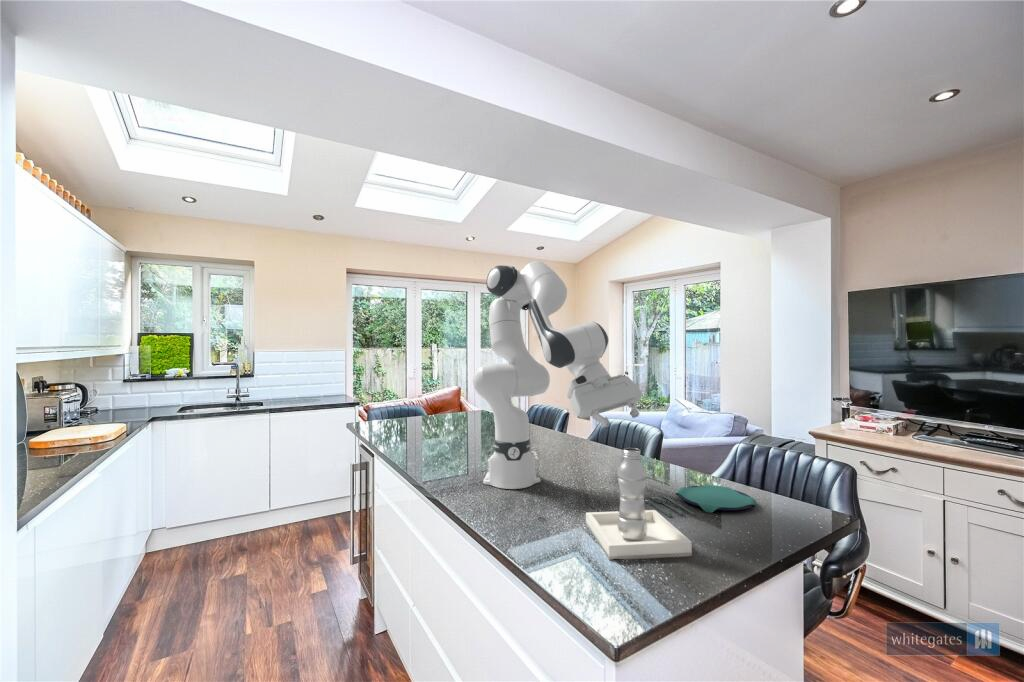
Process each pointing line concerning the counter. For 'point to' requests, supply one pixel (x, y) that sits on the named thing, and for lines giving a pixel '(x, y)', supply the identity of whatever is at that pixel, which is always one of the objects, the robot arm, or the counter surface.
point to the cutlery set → (709, 499)
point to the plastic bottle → (632, 496)
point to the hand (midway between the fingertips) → (622, 420)
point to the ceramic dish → (655, 545)
